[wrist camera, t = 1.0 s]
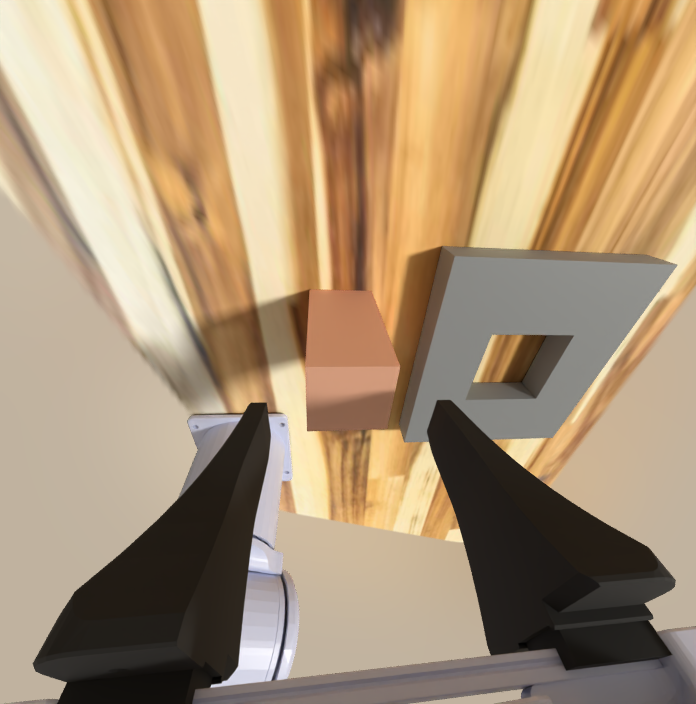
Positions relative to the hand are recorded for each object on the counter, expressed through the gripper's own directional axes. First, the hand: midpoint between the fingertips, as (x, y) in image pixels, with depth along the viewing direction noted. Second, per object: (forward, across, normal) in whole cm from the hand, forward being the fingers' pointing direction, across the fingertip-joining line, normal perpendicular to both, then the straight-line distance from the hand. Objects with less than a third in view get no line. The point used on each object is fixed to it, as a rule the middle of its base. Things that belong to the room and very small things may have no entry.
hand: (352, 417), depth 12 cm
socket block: (+9, -13, +3) cm, 16 cm away
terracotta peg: (+9, 0, 0) cm, 9 cm away
